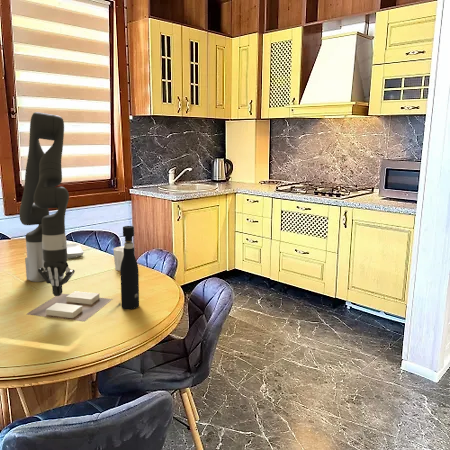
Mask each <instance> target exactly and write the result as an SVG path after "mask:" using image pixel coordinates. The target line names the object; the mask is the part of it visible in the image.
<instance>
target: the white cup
mask: <svg viewBox="0 0 450 450" xmlns="http://www.w3.org/2000/svg"><path fill="white" fill-rule="evenodd" d="M124 246H125V245H123V246H117V247H114V248H113V259H114V267H115V268H114V269H115V271H117V272H120V268H121V262H122V259H123V256H124Z"/></svg>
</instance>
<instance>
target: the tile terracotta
mask: <svg viewBox="0 0 450 450" xmlns="http://www.w3.org/2000/svg"><path fill="white" fill-rule="evenodd" d="M81 312H82V306H80V305H71V304H63V303H55V304H54V305H52V306H51V307H49V308H47V309H46V315H51V316H59V317H67V318H74V317H75V316H77V315H78V314H79V313H81Z"/></svg>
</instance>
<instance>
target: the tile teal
mask: <svg viewBox="0 0 450 450" xmlns="http://www.w3.org/2000/svg"><path fill="white" fill-rule="evenodd" d="M100 298H101V297H100V293H98V292H89V291H88V292H86V291H78V290H74V291H73V292H71V293H70V295H68V296H66V302H73V303H82V304H93V303H94V302H95V301H97V300H98V299H100Z"/></svg>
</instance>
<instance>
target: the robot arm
mask: <svg viewBox="0 0 450 450" xmlns="http://www.w3.org/2000/svg"><path fill="white" fill-rule="evenodd" d="M64 136H65V122H64V119H63V117H62V116H60V115H57V114H51V113H46V112H44V113H43V112H38V111H36V112H35V111H34V112H33V113H32V114H31V118H30V122H29V139H28V140H29V142H28V154H27V160H26V165H25V166H26V167H25V174H24V187H23V193H22V198H21V202H20V207H19V215H18V216H19V221H20V222H21V224H22V225H24V226H35V225H37V226H36V228H34V229H32V230H31V231H29V232H27V233H26V234H25V246H26V257H25V259H24V260H25V261H24V263H25V276H26V280H28V281H30V282H36V283H37V282H45V283H46V284H50V285H51V287H52V289H51V291H52V294H53V296H54V297H55V296H60V295H61V294H63V285H65V284H67V283H68V282H69V281H70V279H71V278H72V276H73V275H74V274H75V271H76V270H74V269H71V268H70V267H69V264H68V258H67V244H68V243H67V236H66V224H65V221H66V220H65V219H66V211H67V208H68V203H69V201H70V200H69V199H70V193H69V191H68V189H67V188H65V187H64V186H59V185H61V184H62V182H63V175H62V174H63V173H62V172H63V170H62V169H63V168H62V157H63V147H64ZM40 139H41V140H46V141H47V140H48V141H53V143H52V145H50V148H49V149H48V150H47V151H45V152H44V151H43V148H42V146H41V143H40ZM50 209H57V211H56V212H55V213H52V214H50Z"/></svg>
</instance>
